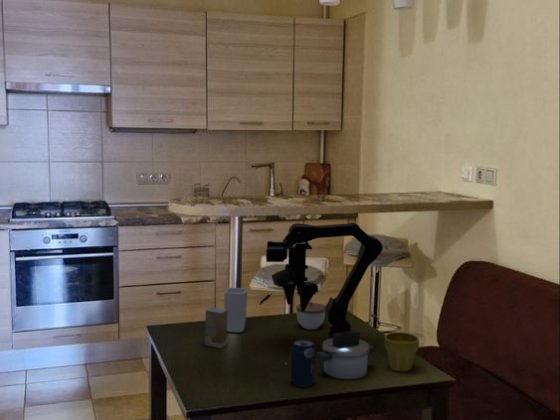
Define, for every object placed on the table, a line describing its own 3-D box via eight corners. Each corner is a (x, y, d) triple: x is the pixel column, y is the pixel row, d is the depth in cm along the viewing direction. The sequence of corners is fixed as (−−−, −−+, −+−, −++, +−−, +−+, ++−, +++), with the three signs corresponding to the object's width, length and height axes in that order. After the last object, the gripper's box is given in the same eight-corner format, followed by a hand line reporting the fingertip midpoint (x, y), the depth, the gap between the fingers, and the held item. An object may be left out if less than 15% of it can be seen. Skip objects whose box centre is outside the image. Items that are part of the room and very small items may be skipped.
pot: (358, 359, 207) (359, 337, 206) (383, 373, 196) (384, 350, 195) (307, 368, 198) (308, 346, 197) (330, 383, 187) (331, 360, 186)
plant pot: (397, 376, 194) (398, 344, 192) (376, 364, 203) (378, 334, 201) (424, 370, 198) (426, 340, 197) (403, 359, 207) (404, 330, 206)
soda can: (317, 386, 184) (318, 346, 183) (293, 388, 183) (294, 347, 181) (311, 377, 191) (312, 338, 190) (288, 378, 190) (289, 339, 188)
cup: (227, 327, 236) (228, 287, 234) (247, 328, 235) (247, 288, 233) (223, 333, 229) (223, 292, 227) (243, 334, 228) (244, 293, 226)
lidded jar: (330, 327, 239) (331, 302, 238) (312, 333, 231) (313, 308, 230) (308, 320, 246) (308, 296, 245) (289, 326, 238) (290, 302, 237)
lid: (351, 338, 205) (352, 323, 205) (378, 352, 193) (379, 337, 193) (313, 344, 199) (314, 329, 198) (339, 359, 187) (339, 343, 186)
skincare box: (204, 345, 216) (204, 310, 214) (210, 341, 220) (210, 306, 218) (221, 348, 213) (221, 312, 212) (227, 344, 217) (227, 309, 216)
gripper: (262, 258, 219) (261, 303, 221) (289, 270, 202) (288, 318, 205) (291, 255, 224) (290, 299, 226) (319, 267, 208) (318, 314, 210)
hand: (295, 307), depth 216 cm, fingers open, 9 cm apart
